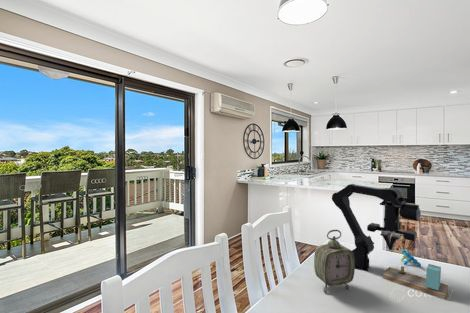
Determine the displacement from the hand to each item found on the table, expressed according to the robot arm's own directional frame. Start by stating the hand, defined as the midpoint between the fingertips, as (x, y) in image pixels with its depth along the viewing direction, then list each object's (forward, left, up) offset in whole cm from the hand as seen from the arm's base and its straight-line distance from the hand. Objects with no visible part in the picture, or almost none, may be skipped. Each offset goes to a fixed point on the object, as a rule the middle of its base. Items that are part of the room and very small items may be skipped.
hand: (390, 249), depth 115 cm
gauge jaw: (+15, -4, -10) cm, 19 cm away
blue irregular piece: (+11, +20, -13) cm, 27 cm away
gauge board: (+9, -1, -13) cm, 16 cm away
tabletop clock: (-23, -21, -13) cm, 33 cm away
